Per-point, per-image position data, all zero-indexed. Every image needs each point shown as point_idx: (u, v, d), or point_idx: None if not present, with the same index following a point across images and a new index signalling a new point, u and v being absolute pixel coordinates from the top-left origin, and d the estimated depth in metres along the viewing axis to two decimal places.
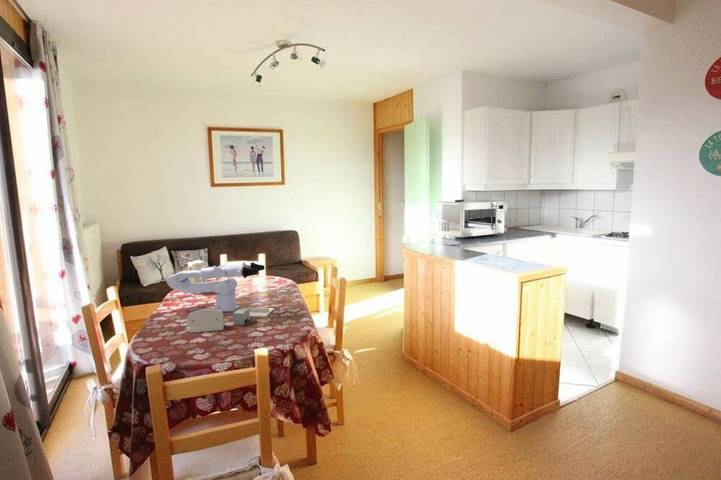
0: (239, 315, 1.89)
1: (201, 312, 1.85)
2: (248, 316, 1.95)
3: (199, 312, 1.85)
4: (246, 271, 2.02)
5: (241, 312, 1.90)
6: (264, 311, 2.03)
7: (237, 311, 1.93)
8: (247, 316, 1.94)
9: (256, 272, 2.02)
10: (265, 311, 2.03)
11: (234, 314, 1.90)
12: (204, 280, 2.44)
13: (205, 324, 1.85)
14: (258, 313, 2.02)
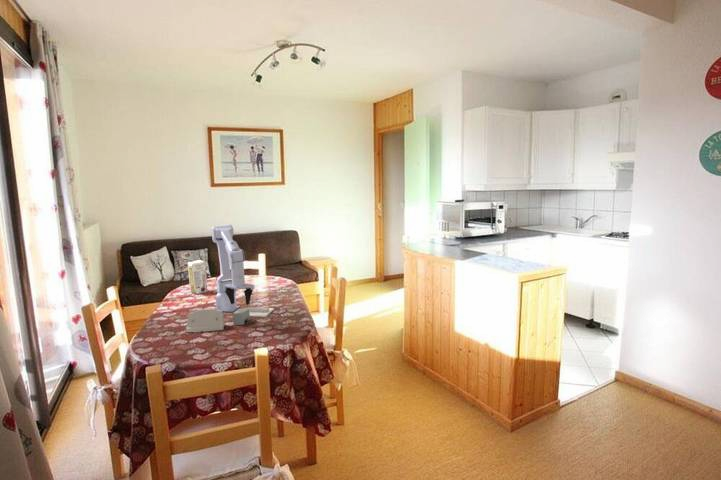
0: (239, 315, 1.89)
1: (201, 312, 1.85)
2: (248, 316, 1.95)
3: (199, 312, 1.85)
4: None
5: (241, 312, 1.90)
6: (264, 311, 2.03)
7: (237, 311, 1.93)
8: (247, 316, 1.94)
9: None
10: (265, 311, 2.03)
11: (234, 314, 1.90)
12: (204, 280, 2.44)
13: (205, 324, 1.85)
14: (258, 313, 2.02)
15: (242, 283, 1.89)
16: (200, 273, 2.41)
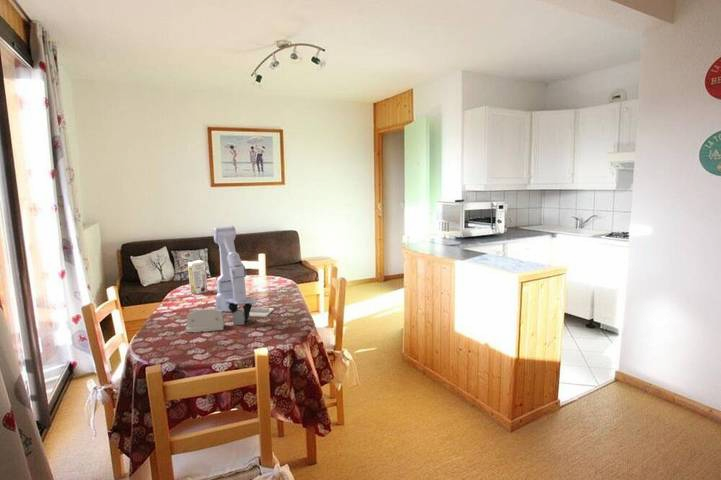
0: (239, 315, 1.89)
1: (201, 312, 1.85)
2: None
3: (199, 312, 1.85)
4: None
5: (241, 312, 1.90)
6: (264, 311, 2.03)
7: (237, 311, 1.93)
8: None
9: None
10: (265, 311, 2.03)
11: (234, 314, 1.89)
12: (204, 280, 2.44)
13: (205, 324, 1.85)
14: (258, 313, 2.02)
15: (243, 298, 1.90)
16: (200, 273, 2.41)
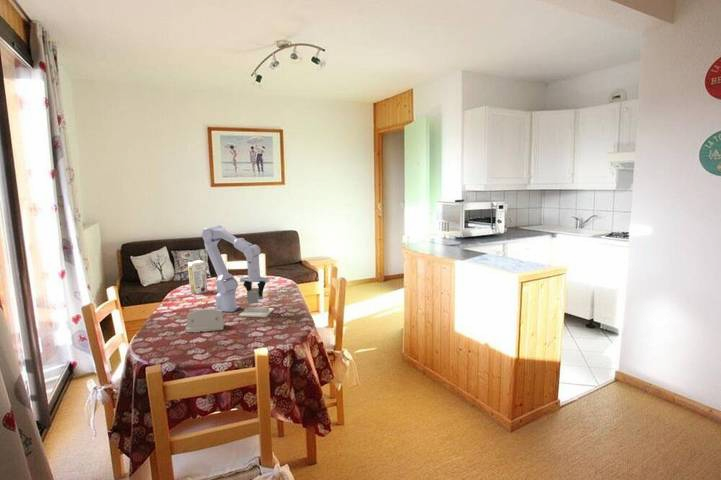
0: (253, 294, 2.00)
1: (200, 312, 1.85)
2: None
3: (198, 312, 1.85)
4: None
5: (255, 291, 2.01)
6: (264, 311, 2.03)
7: (251, 290, 2.03)
8: None
9: None
10: (265, 311, 2.03)
11: (248, 293, 2.00)
12: (204, 280, 2.44)
13: (205, 324, 1.85)
14: (258, 313, 2.02)
15: (257, 276, 2.01)
16: (200, 273, 2.41)
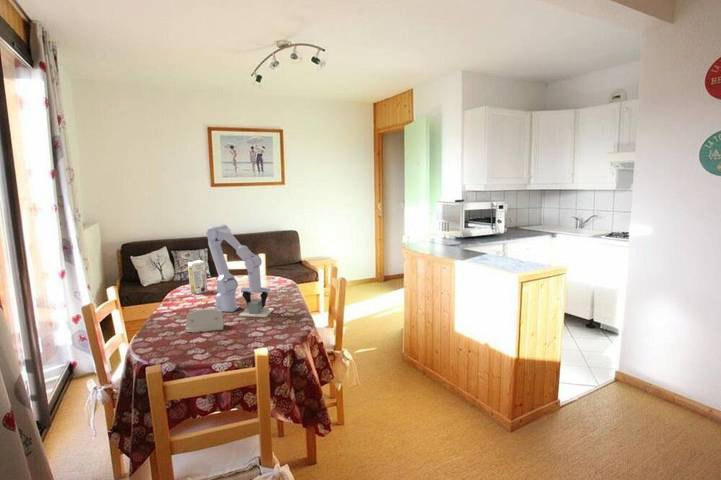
0: (254, 305, 2.01)
1: (200, 312, 1.86)
2: None
3: (198, 312, 1.85)
4: None
5: (256, 302, 2.02)
6: (264, 311, 2.03)
7: (252, 301, 2.04)
8: (261, 306, 2.06)
9: None
10: (265, 311, 2.03)
11: (249, 304, 2.01)
12: (204, 280, 2.44)
13: (205, 324, 1.85)
14: None
15: (258, 287, 2.02)
16: (200, 273, 2.41)
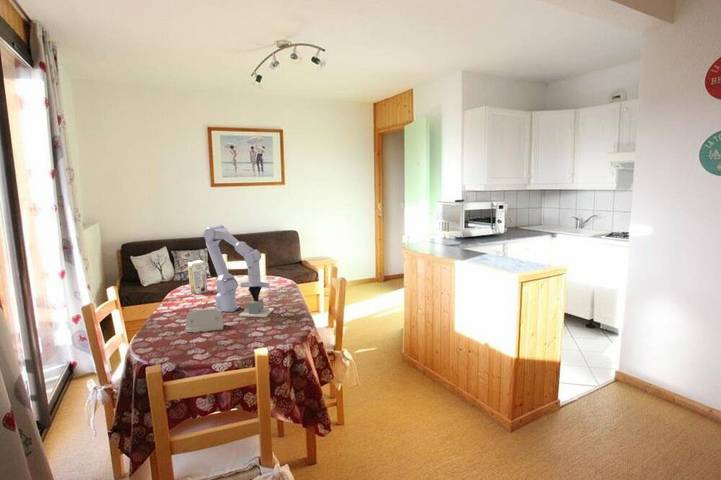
0: (254, 305, 2.01)
1: (200, 312, 1.86)
2: (262, 306, 2.07)
3: (198, 312, 1.85)
4: None
5: (256, 302, 2.02)
6: (264, 311, 2.03)
7: (252, 301, 2.04)
8: (261, 306, 2.06)
9: None
10: (265, 311, 2.03)
11: (249, 304, 2.01)
12: (204, 280, 2.44)
13: (204, 324, 1.85)
14: None
15: (258, 281, 2.01)
16: (200, 273, 2.41)
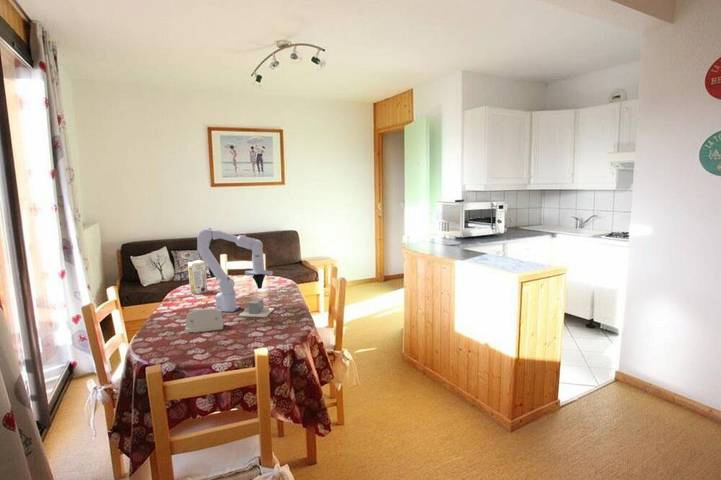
0: (254, 305, 2.01)
1: (200, 312, 1.85)
2: (262, 306, 2.07)
3: (198, 312, 1.85)
4: None
5: (256, 302, 2.02)
6: (264, 311, 2.03)
7: (252, 301, 2.04)
8: (261, 306, 2.06)
9: None
10: (265, 311, 2.03)
11: (249, 304, 2.01)
12: (204, 280, 2.44)
13: (204, 324, 1.85)
14: None
15: (262, 269, 2.11)
16: (200, 273, 2.41)
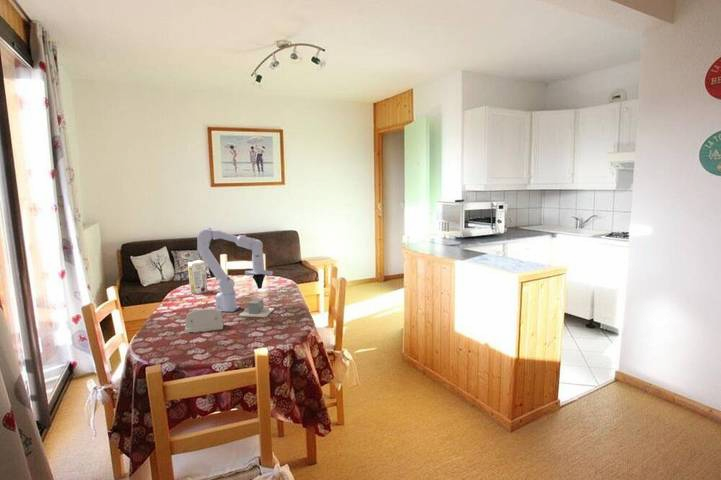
0: (254, 305, 2.01)
1: (199, 312, 1.85)
2: (262, 306, 2.07)
3: (197, 312, 1.85)
4: None
5: (256, 302, 2.02)
6: (264, 311, 2.03)
7: (252, 301, 2.04)
8: (261, 306, 2.06)
9: None
10: (265, 311, 2.03)
11: (249, 304, 2.01)
12: (204, 280, 2.44)
13: (204, 324, 1.85)
14: None
15: (262, 269, 2.11)
16: (200, 273, 2.41)
